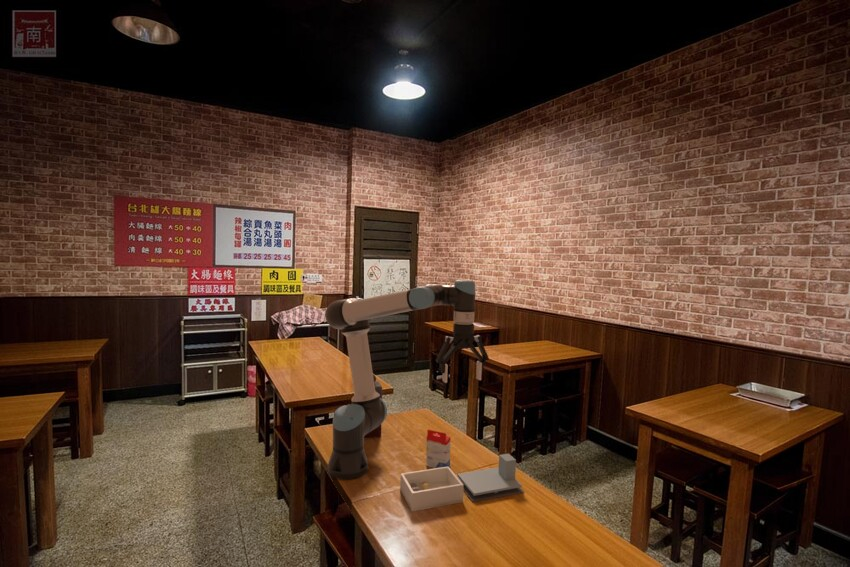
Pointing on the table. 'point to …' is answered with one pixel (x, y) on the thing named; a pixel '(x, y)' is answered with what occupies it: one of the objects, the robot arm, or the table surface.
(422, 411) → the table surface
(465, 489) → the mat
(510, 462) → the lid
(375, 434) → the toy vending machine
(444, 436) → the ink box
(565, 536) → the table surface
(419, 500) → the tub
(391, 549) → the table surface
